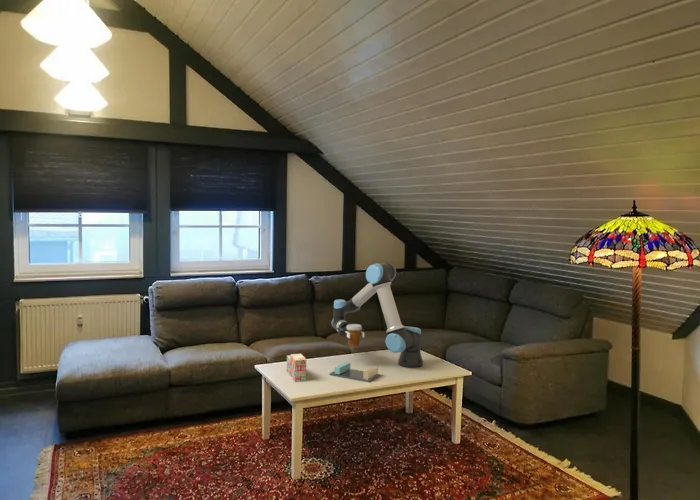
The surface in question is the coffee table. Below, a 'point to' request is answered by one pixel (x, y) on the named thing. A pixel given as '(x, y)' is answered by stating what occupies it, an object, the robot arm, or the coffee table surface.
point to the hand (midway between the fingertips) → (356, 335)
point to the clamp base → (359, 374)
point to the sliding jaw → (342, 368)
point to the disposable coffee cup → (354, 334)
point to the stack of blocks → (296, 367)
